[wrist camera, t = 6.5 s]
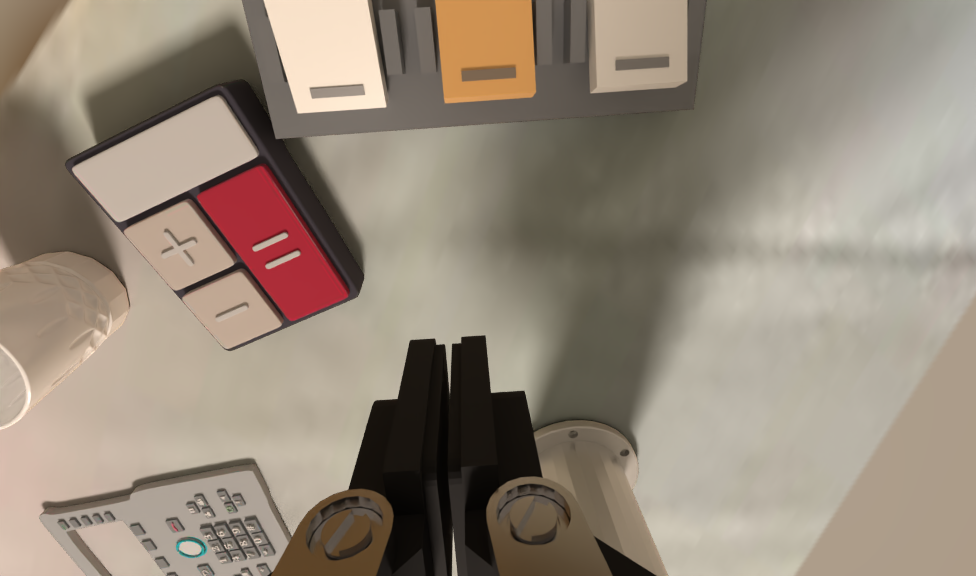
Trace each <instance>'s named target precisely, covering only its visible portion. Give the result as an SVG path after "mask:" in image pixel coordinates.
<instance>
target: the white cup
mask: <svg viewBox="0 0 976 576" xmlns="http://www.w3.org/2000/svg"><path fill="white" fill-rule="evenodd" d="M129 309H130V307H129V302H128V297H127V292H126V289H125V288H124V286H123V285H122V284H121V282H120V281H119V279H118V278H117V277H116V275H115V274H114V273H113V272H112V271H111V270H109V269H108V268H106V267H105V266H103V265H102V264H100V263H99V262H97V261H96V260H95V259H93V258H91V257H87V256H83V255H80V254H76V253H73V252H69V251H65V252H55V253H45V254H42V255H40V256H37V257H35V258H32V259H30V260H27V261H25V262H23V263H20V264H17V265H13V266H10V267H6V268H3V269H0V430H1V429H4V428H7V427H9V426H11V425H13V424H14V423H16V422H17V421H19V420H20V419H21V418H22V417H23V416H24V415H25V414H26V413H27V412H29V411H30V410H31V409H32V408H33V407H34V406H35V405H36V404H37V403H39V402H40V401H41V400H42V399H43V398H44V397H45V396H46V395H48V394H49V393H50V392H51V391H52V390H53V389H54V388H55V387H57V386H58V385H59V384H60V383H61V382H62V381H63V380H64V379H66V378H67V377H68V376H69V375H70V374H71V373H72V372H73V371H75V370H76V369H77V368H78V367H79V366H80V365H81V364H82V363H83V362H84V361H85V360H86V359H87V358H88V357H89V356H90V355H91V354H93V353H94V352H95V351H96V350H97V348H98V347H99V346H100V345H101V344H102V342H103V341H104V340H106V339H107V338H108V337H109V336H110V335H111V334H112V333H114V332H115V331H116V330H117V329H118V328H119V327H120V326H122V325H123V323H124V321H125V318H126V316H127V314H128V311H129Z"/></svg>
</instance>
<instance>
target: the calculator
mask: <svg viewBox="0 0 976 576" xmlns="http://www.w3.org/2000/svg"><path fill="white" fill-rule="evenodd" d="M65 166H66V168H67V170H68V171H69V172H70V173H71V174H72V176H73V177H74V178H75V179H76V180H77V181H78V182H79V184H80V185H81V186H82V187H83V188H84V189H85V190H86V192H87V193H88V194H89V195H90V196H91V197H92V198H93V200H94V201H95V202H96V203H97V204H98V205H99V206H100V208H101V209H102V210H103V211H104V212H105V213H106V214H107V216H108V217H109V218H110V219H111V220H112V221H113V222H114V224H115V225H116V226H117V227H118V228H119V229H120V230H121V232H122V233H123V234H124V235H125V236H126V237H127V238H128V240H129V241H130V242H131V243H132V244H133V245H134V246H135V248H136V249H137V250H138V251H139V252H140V253H141V254H142V256H143V257H144V258H145V259H146V260H147V261H148V262H149V264H150V265H151V266H152V267H153V268H154V269H155V270H156V272H157V273H158V274H159V275H160V276H161V277H162V279H163V280H164V281H165V282H166V283H167V284H168V285H169V287H170V288H171V289H172V290H173V291H174V292H175V293H176V295H177V296H178V297H179V298H180V299H181V300H182V301H183V303H184V304H185V305H186V306H187V307H188V308H189V309H190V311H191V312H192V313H193V314H194V315H195V316H196V317H197V319H198V320H199V321H200V322H201V323H202V324H203V325H204V327H205V328H206V329H207V330H208V331H209V332H210V333H211V335H212V336H213V337H214V338H215V339H216V340H217V341H218V343H219V344H220V345H221V346H222V347H223V348H224V349H225V350H227V351H232V350H235V349H238V348H240V347H242V346H245V345H247V344H249V343H252V342H254V341H256V340H259V339H261V338H263V337H266V336H268V335H270V334H273V333H275V332H277V331H280V330H282V329H284V328H287V327H289V326H291V325H294V324H296V323H298V322H301V321H303V320H305V319H308V318H310V317H312V316H315V315H317V314H319V313H322V312H324V311H326V310H329V309H331V308H333V307H336V306H338V305H340V304H343V303H345V302H347V301H350V300H352V299H354V298H356V297H358V295H359V293H360V290H361V287H362V284H363V281H364V275H363V273H362V271H361V269H360V268H359V266H358V264H357V263H356V261H355V259H354V258H353V256H352V254H351V253H350V251H349V250H348V248H347V246H346V245H345V243H344V241H343V240H342V238H341V236H340V235H339V233H338V231H337V230H336V228H335V226H334V225H333V223H332V221H331V220H330V218H329V216H328V215H327V213H326V212H325V210H324V208H323V207H322V205H321V204H320V202H319V200H318V199H317V197H316V196H315V194H314V192H313V191H312V189H311V188H310V186H309V184H308V183H307V181H306V180H305V178H304V176H303V175H302V173H301V172H300V170H299V169H298V167H297V165H296V164H295V162H294V161H293V159H292V157H291V156H290V154H289V153H288V151H287V149H286V147H285V144H284V142H283V140H282V139H276V138H275V134H274V130H273V126H272V122H271V120H270V118H269V117H268V115H267V113H266V112H265V110H264V108H263V107H262V105H261V103H260V102H259V100H258V98H257V97H256V95H255V93H254V92H253V90H252V88H251V87H250V85H249V84H248V83H247V82H246V81H244V80H236V81H231V82H226V83H222V84H218V85H215V86H213V87H211V88H209V89H207V90H205V91H203V92H201V93H199V94H197V95H195V96H193V97H191V98H189V99H187V100H185V101H183V102H181V103H179V104H177V105H175V106H173V107H171V108H169V109H167V110H165V111H163V112H161V113H159V114H157V115H155V116H153V117H151V118H149V119H147V120H145V121H143V122H141V123H139V124H137V125H135V126H133V127H131V128H129V129H127V130H125V131H123V132H121V133H119V134H117V135H115V136H113V137H111V138H109V139H107V140H105V141H103V142H101V143H99V144H97V145H95V146H93V147H91V148H89V149H87V150H85V151H83V152H81V153H79V154H77V155H75V156H73V157H72V158H70V159H68V160H67V161H66V163H65Z"/></svg>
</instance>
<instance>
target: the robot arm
mask: <svg viewBox="0 0 976 576" xmlns="http://www.w3.org/2000/svg"><path fill="white" fill-rule="evenodd" d="M638 473H639V467H638V460H637V457H636V454H635V452H634V450H633V448H632V446H631V444H630V442H629V441H628V440H627V439H626V438H625V436H624V435H622V434H621V433H620V432H618V431H617V430H616V429H614V428H612V427H610V426H608V425H606V424H602V423H598V422H594V421H586V420H573V421H564V422H559V423H554V424H552V425H549V426H546V427H543V428H541V429H539V430H537V431H536V432H534V433H533V428H532V423H531V418H530V414H529V409H528V404H527V399H526V395H525V392H524V391H513V392H498V393H491V389H490V378H489V368H488V357H487V347H486V337H485V335H484V336H468V337H461V343H458V344H452V361H451V386H450V393H449V382H448V371H447V360H446V349H445V344H442V345H436V340H435V339H420V340H410V343H409V348H408V352H407V357H406V362H405V367H404V371H403V376H402V381H401V386H400V390H399V395H398V399H392V400H377V401H375V402H374V403H373V406H372V409H371V412H370V416H369V419H368V423H367V426H366V430H365V433H364V437H363V440H362V444H361V447H360V451H359V454H358V458H357V461H356V465H355V468H354V472H353V475H352V479H351V482H350V486H349V489H348V490H346V491H342V492H339V493H336V494H333V495H331V496H329V497H328V498H326V499H324V500H322V501H320V502H319V503H318V504H317V505H315V506H314V507H313V508H312V509H311V510H310V511H308V513H307V514H306V515H305V517H304V518H303V520H302V521H301V522H300V524H299V525H298V527H297V529H296V531H295V533H294V535H293V536H292V538H291V540H290V542H289V544H288V545H287V547H286V549H285V551H284V553H283V555H282V556H281V558H280V560H279V562H278V564H277V565H276V567H275V569H274V571H273V572H271V573H270V574H269V575H267V576H452V540H453V532H454V542H455V552H456V562H457V573H458V576H668V574H667V571H666V569H665V567H664V564H663V562H662V560H661V557H660V555H659V552H658V550H657V548H656V545H655V543H654V541H653V538H652V536H651V534H650V531H649V529H648V527H647V524H646V522H645V520H644V517H643V515H642V513H641V510H640V508H639V505H638V503H637V501H636V498H635V496H634V494H633V491H632V490H633V488H634V486H635V484H636V482H637V478H638Z"/></svg>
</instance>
